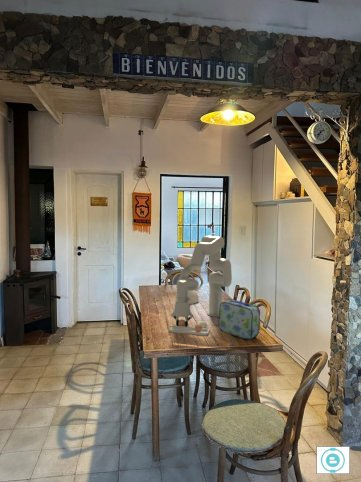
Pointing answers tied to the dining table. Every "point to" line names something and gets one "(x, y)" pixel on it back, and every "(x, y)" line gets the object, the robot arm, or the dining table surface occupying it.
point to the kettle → (192, 297)
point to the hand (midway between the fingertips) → (182, 326)
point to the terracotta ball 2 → (198, 328)
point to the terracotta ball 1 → (181, 322)
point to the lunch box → (239, 319)
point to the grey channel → (188, 330)
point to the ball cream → (203, 324)
